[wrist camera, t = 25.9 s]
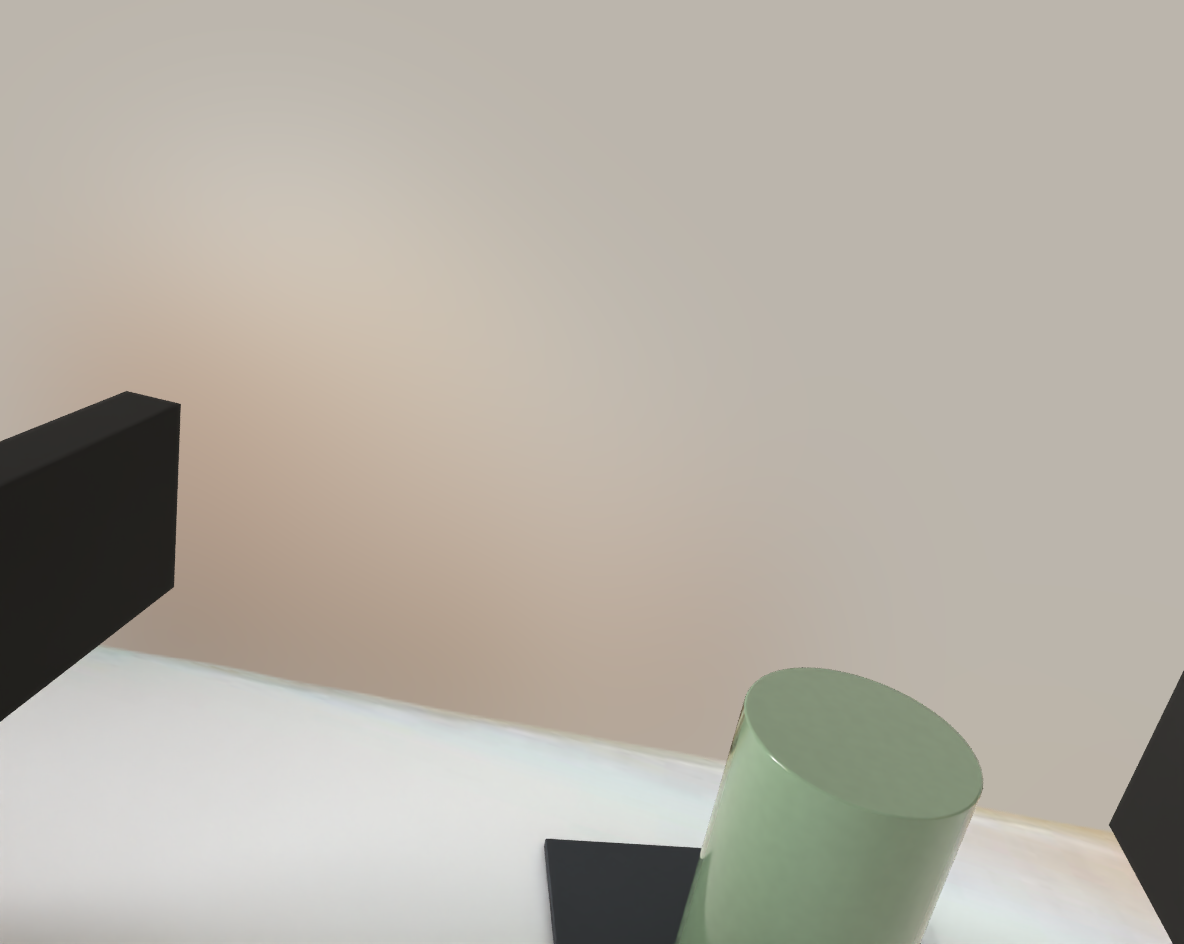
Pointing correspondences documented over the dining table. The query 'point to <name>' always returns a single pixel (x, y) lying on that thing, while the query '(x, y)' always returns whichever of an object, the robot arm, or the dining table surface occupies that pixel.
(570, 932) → the mat
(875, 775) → the canister
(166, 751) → the dining table surface
